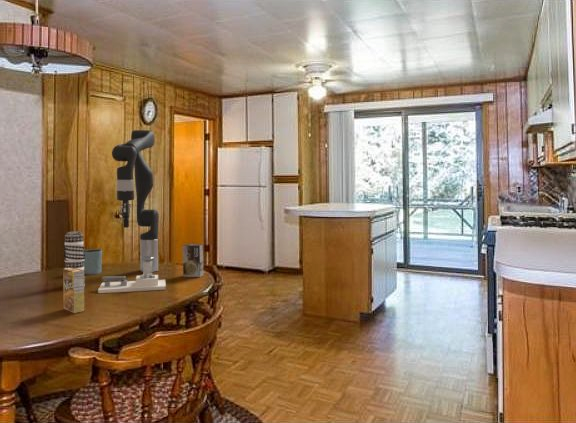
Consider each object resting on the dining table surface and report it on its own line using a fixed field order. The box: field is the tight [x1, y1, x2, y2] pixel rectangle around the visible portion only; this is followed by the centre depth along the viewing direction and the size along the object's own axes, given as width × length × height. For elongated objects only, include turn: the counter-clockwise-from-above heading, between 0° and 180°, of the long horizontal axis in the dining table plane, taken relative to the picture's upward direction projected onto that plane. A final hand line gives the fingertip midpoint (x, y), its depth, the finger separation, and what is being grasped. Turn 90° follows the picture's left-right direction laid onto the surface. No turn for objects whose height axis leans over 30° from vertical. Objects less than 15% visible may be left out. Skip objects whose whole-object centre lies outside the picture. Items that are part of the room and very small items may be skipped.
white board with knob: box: [97, 274, 167, 294], centre depth 208 cm, size 15×28×4 cm, turn 105°
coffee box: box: [182, 243, 204, 278], centre depth 235 cm, size 9×6×16 cm
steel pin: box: [142, 257, 154, 279], centre depth 209 cm, size 5×5×12 cm
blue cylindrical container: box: [83, 248, 103, 275], centre depth 242 cm, size 10×10×12 cm
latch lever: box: [101, 275, 127, 281], centre depth 205 cm, size 4×10×1 cm, turn 105°
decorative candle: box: [62, 230, 86, 287], centre depth 210 cm, size 9×9×25 cm
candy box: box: [62, 268, 85, 314], centre depth 170 cm, size 9×4×15 cm, turn 50°
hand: (126, 227), depth 212 cm, fingers closed
